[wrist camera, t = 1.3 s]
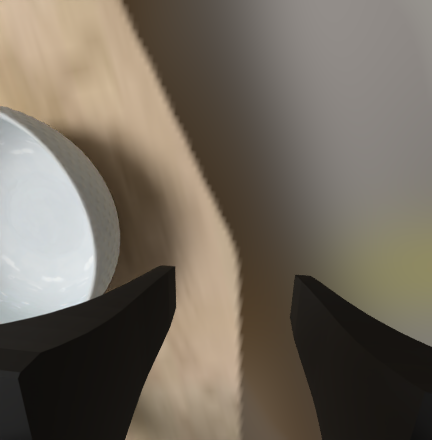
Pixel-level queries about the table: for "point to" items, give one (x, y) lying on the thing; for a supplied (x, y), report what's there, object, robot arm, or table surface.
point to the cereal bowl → (51, 221)
